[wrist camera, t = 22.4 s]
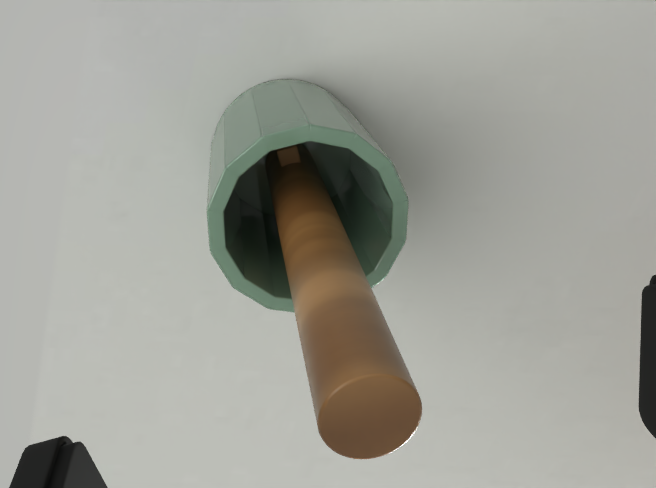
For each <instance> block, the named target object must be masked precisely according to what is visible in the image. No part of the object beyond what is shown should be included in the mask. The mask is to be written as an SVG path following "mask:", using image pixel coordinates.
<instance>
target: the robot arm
mask: <svg viewBox="0 0 656 488" xmlns="http://www.w3.org/2000/svg"><path fill="white" fill-rule="evenodd" d="M639 412H640V416H641V418H642V421H643V423H644V424H645V426H646V428H647V429H648V430H649V431H650V433H651V434H652V435H653V436H654V437H655V438H656V275H654V276H652V278H651V280H650V284H649V286H646V287H644V289H643V292H642V312H641V346H640V381H639ZM9 488H107V486H106V484H105V482H104V480H103V478H102V477H101V475H100V473H99V471H98V469H97V467H96V466H95V464H94V462H93V460H92V458H91V457H90V455H89V453H88V451H87V449H86V447H85V446H84V445H83V443H81V442H75V443H73V442H72V441H71V440H70V439H69V438H68V437H67V436H62V437H58V438H55V439H51V440H47V441H44V442H40V443H36V444H33V445H29V446H28V447H26V448H25V450H24V452H23V453H22V456H21V459H20V461H19V464H18V467H17V469H16V472H15V474H14V477H13V480H12V482H11V485H10V487H9Z"/></svg>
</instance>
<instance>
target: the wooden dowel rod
mask: <svg viewBox="0 0 656 488" xmlns="http://www.w3.org/2000/svg"><path fill="white" fill-rule="evenodd" d="M266 172H267V177H268V182H269V187H270V192H271V197H272V202H273V207H274V212H275V217H276V222H277V227H278V232H279V237H280V242H281V247H282V252H283V257H284V262H285V266H286V271H287V276H288V281H289V286H290V291H291V296H292V301H293V306H294V311H295V316H296V321H297V326H298V331H299V336H300V341H301V346H302V351H303V356H304V361H305V366H306V371H307V376H308V381H309V386H310V391H311V396H312V401H313V406H314V411H315V415H316V420H317V425H318V430H319V433H320V436H321V438H322V439H323V441H324V442H325V443H326V445H327V446H328V447H330V448H331V449H332V450H333V451H335V452H336V453H338V454H340V455H342V456H345V457H349V458H354V459H371V458H376V457H380V456H383V455H386V454H389V453H391V452H393V451H395V450H396V449H398V448H400V447H401V446H402V445H404V444H405V443H406V442H407V441H408V440H409V439H410V438H411V437H412V435H413V434H414V433H415V431H416V429H417V428H418V426H419V423H420V420H421V415H422V403H421V399H420V396H419V394H418V392H417V389H416V387H415V385H414V383H413V381H412V378H411V376H410V374H409V372H408V369H407V367H406V365H405V363H404V360H403V358H402V356H401V354H400V352H399V349H398V347H397V345H396V343H395V340H394V338H393V336H392V334H391V331H390V329H389V327H388V325H387V323H386V320H385V318H384V316H383V314H382V311H381V309H380V307H379V305H378V302H377V300H376V298H375V296H374V294H373V291H372V289H371V287H370V285H369V282H368V280H367V278H366V276H365V273H364V271H363V269H362V267H361V265H360V262H359V260H358V258H357V256H356V253H355V251H354V249H353V247H352V244H351V242H350V240H349V238H348V236H347V233H346V231H345V229H344V227H343V224H342V222H341V220H340V218H339V215H338V213H337V211H336V209H335V207H334V204H333V202H332V200H331V198H330V195H329V193H328V191H327V189H326V186H325V184H324V182H323V180H322V178H321V175H320V173H319V171H318V169H317V166H316V164H315V162H314V160H313V157H312V155H311V153H310V152H309V150H308V149H307V148H306V147H305V146H303V145H302V144H297V145H293V146H289V147H285V148H281V149H277V150H273V151H270V152H269V154H268V156H267V159H266Z"/></svg>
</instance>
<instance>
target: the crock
mask: <svg viewBox="0 0 656 488" xmlns="http://www.w3.org/2000/svg"><path fill="white" fill-rule="evenodd" d="M297 144H302V145H303V146H305V147H306V148H307V149H308V150H309V152H310V153H311V155H312V157H313V160H314V162H315V164H316V166H317V169H318V171H319V173H320V175H321V178H322V180H323V182H324V184H325V186H326V189H327V191H328V193H329V195H330V198H331V200H332V202H333V204H334V207H335V209H336V211H337V213H338V215H339V218H340V220H341V222H342V224H343V227H344V229H345V231H346V233H347V236H348V238H349V240H350V242H351V244H352V247H353V249H354V251H355V253H356V256H357V258H358V260H359V262H360V265H361V267H362V269H363V271H364V273H365V276H366V278H367V280H368V282H369V285H370V287H371V288H373V287H374V286H375V285H376V284H378V283H379V282H380V281H382V280H383V279H384V278H385V277H386V276H387V274H388V272H389V270H390V269H391V267H392V265H393V263H394V261H395V260H396V258H397V256H398V254H399V252H400V251H401V249H402V247H403V245H404V244H405V241H406V233H407V218H408V202H409V201H408V197H407V194H406V192H405V190H404V188H403V185H402V183H401V181H400V179H399V176H398V174H397V172H396V170H395V167H394V165H393V163H392V161H391V160H390V159H389V157H388V156H387V155H386V154H385V153H384V151H383V150H382V149H381V148H380V147H379V145H378V144H377V143H376V142H375V141H374V139H373V138H372V137H371V136H370V135H369V133H368V132H367V131H366V130H365V129H364V127H363V126H362V125H361V124H360V123H359V121H358V120H357V119H356V118H355V117H354V115H353V114H352V113H351V112H350V111H349V109H348V108H347V107H346V106H344V105H343V104H342V103H341V102H339V101H338V100H337V99H336V98H335V97H334V96H333V95H332V94H330V93H329V92H327V91H326V90H324V89H323V88H321V87H319V86H317V85H314V84H311V83H309V82H305V81H300V80H292V79H282V80H274V81H268V82H265V83H262V84H259V85H257V86H255V87H253V88H250V89H249V90H247V91H246V92H244V93H243V94H241V95H240V96H239V97H238V98H236V99H235V100H234V101H233V102H232V103H231V105H230V106H229V107H228V108H227V109H226V111H225V112H224V114H223V115H222V117H221V119H220V121H219V123H218V125H217V128H216V131H215V134H214V138H213V140H212V144H211V154H210V169H209V184H208V199H207V221H208V234H209V246H210V251H211V254H212V256H213V258H214V259H215V261H216V262H217V264H218V265H219V267H220V269H221V270H222V272H223V273H224V275H225V276H226V278H227V280H228V281H229V283H230V284H231V286H232V287H233V288H234V289H236V290H238V291H239V292H241V293H243V294H244V295H246V296H248V297H249V298H251V299H253V300H254V301H256V302H258V303H259V304H261V305H263V306H264V307H266V308H268V309H272V310H280V311H288V312H295V311H294V306H293V301H292V296H291V291H290V286H289V281H288V276H287V271H286V266H285V262H284V257H283V252H282V247H281V242H280V237H279V232H278V227H277V222H276V217H275V212H274V207H273V202H272V197H271V192H270V187H269V182H268V177H267V172H266V159H267V156H268V154H269V152H270V151H273V150H277V149H281V148H285V147H289V146H293V145H297Z"/></svg>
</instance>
